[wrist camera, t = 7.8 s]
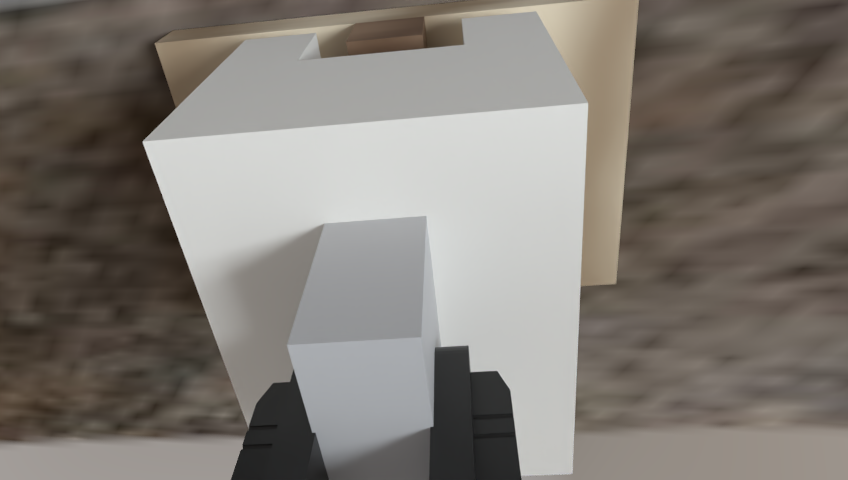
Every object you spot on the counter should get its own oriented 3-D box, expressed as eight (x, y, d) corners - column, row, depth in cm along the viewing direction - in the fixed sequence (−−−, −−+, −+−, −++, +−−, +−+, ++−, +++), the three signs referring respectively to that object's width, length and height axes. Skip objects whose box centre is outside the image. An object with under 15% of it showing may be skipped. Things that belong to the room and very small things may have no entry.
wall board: (625, -16, 18) (660, 11, 16) (606, 260, 24) (630, 319, 21) (173, 30, 20) (125, 63, 17) (252, 284, 25) (226, 343, 22)
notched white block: (536, 11, 17) (644, 201, 8) (537, 304, 22) (602, 616, 13) (245, 40, 17) (35, 246, 8) (315, 318, 22) (232, 625, 14)
